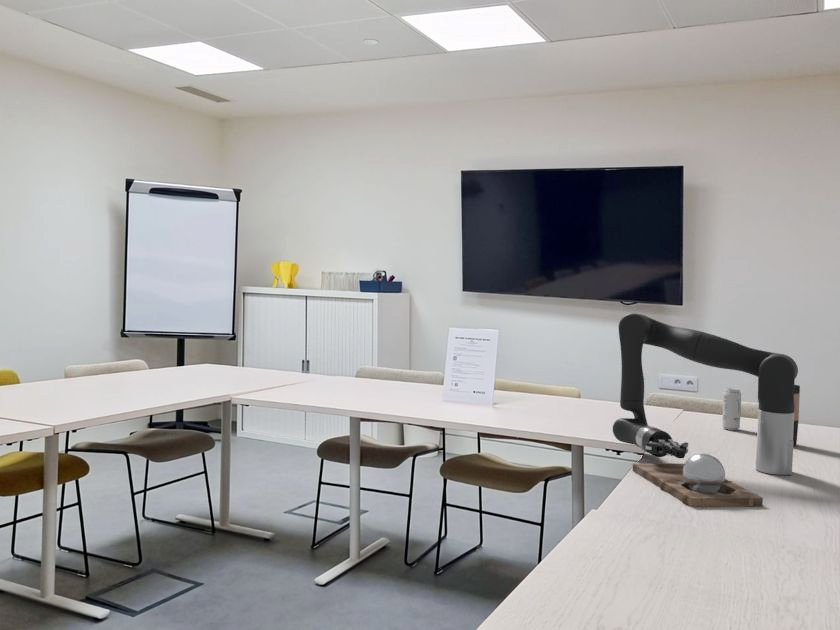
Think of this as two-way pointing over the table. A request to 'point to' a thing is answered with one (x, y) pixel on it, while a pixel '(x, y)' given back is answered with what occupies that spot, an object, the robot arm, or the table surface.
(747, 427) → the table surface
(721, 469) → the steel ball
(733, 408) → the energy drink can
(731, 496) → the wooden board
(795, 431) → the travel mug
